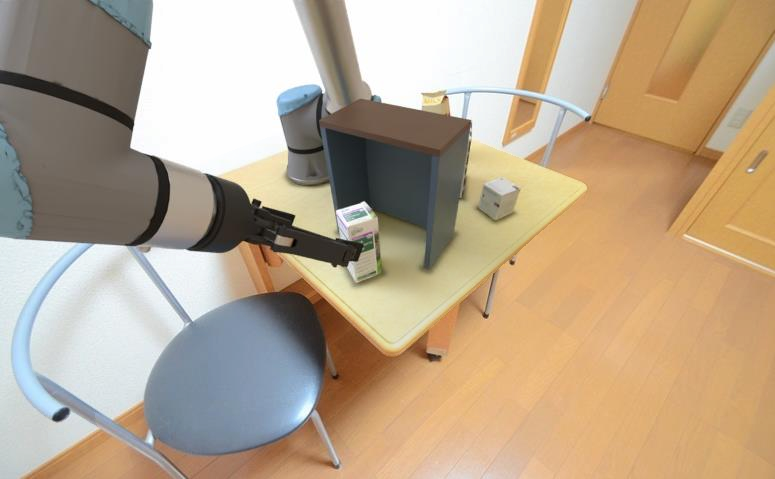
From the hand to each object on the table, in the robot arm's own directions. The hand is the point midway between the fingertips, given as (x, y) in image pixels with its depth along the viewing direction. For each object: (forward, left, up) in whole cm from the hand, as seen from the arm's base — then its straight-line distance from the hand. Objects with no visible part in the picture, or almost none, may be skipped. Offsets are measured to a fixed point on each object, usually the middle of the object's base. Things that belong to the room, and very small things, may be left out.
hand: (323, 236), depth 49 cm
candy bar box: (+4, +46, -16) cm, 49 cm away
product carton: (+17, +41, -16) cm, 47 cm away
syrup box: (0, +8, -16) cm, 18 cm away
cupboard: (0, +21, -15) cm, 26 cm away
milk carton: (-9, +59, -16) cm, 62 cm away
